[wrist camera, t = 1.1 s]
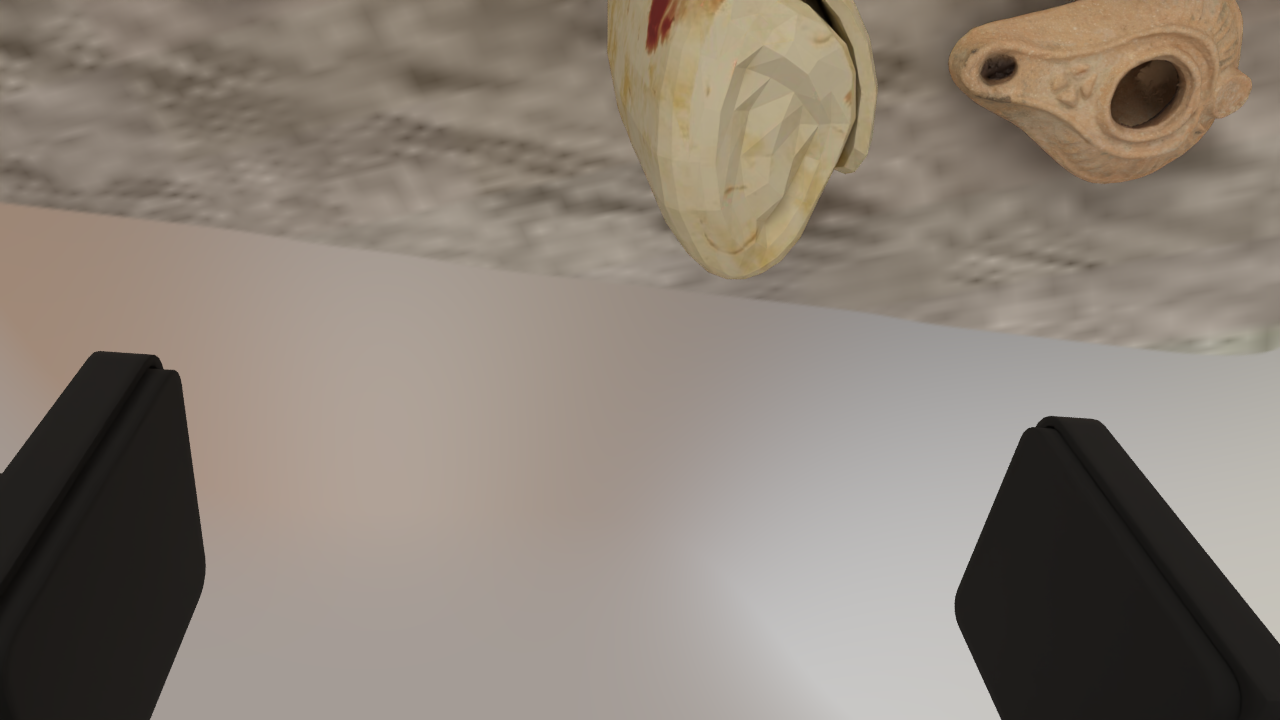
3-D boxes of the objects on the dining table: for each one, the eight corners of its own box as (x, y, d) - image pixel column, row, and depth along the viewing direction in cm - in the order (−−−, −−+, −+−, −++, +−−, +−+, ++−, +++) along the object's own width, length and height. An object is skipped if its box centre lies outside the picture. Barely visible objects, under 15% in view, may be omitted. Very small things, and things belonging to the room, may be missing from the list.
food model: (598, -165, 38) (644, -77, 21) (769, -158, 38) (946, -67, 22) (594, 87, 43) (628, 318, 26) (744, 90, 44) (871, 317, 27)
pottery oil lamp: (957, -61, 41) (1109, -85, 35) (1135, -1, 47) (1291, -13, 41) (916, 155, 42) (1054, 167, 36) (1093, 186, 48) (1236, 201, 42)
